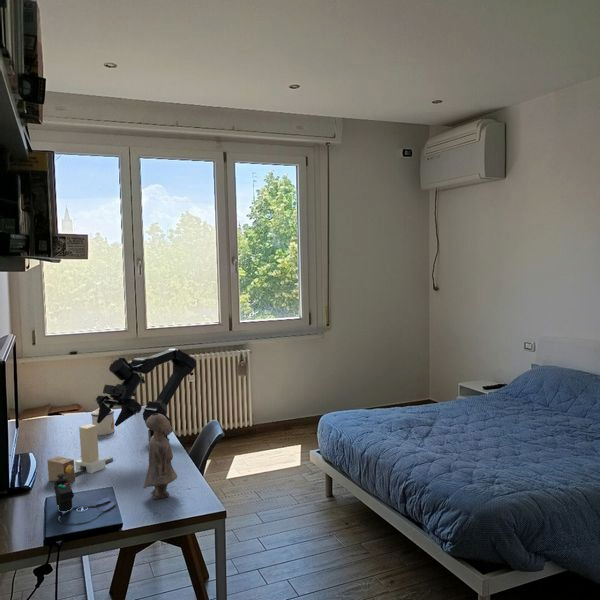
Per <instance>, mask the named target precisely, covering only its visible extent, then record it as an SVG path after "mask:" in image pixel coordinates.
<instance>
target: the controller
mask: <svg viewBox="0 0 600 600" xmlns="http://www.w3.org/2000/svg"><path fill="white" fill-rule="evenodd" d="M64 476H65V474H58V475H57V477H59V479H58V480H56V481H54V482H52V483H53V488H54V492H55V501H56V506H57V505H59V510H60V511H67V510H70V509H71V508H73V499H74V497H75V494H74V492H73V489H72V487H71V482H69V480H68V479H65V478H63V477H64ZM70 511H71V510H70Z"/></svg>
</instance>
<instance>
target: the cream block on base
mask: <svg viewBox="0 0 600 600" xmlns="http://www.w3.org/2000/svg"><path fill="white" fill-rule="evenodd" d="M78 428H79V429H78V430H79V431H78V432H79V441H80V442H79V443H80V459H78V460H74V466H75V470H77V469H80V468H82V467H85V466H86V470H87V472H86V473H88V474H94V473H96V472H98V471H101V470H103V469H106V464H105V458H103V457H102V458H101V457H100V455H99V445H98V443H99V441H98V439H99V438H98V435H97V425H92V423H91V424H90V423H89V424H88V423H87V424H85V425H82V426H79V427H78Z"/></svg>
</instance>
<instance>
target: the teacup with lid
mask: <svg viewBox="0 0 600 600" xmlns="http://www.w3.org/2000/svg"><path fill="white" fill-rule="evenodd" d="M111 410H112V411H111V412H110V413H109V414H108V415H107V416H106V417H105V418H104V419H103V420H102V421H101V422H100V423H97V419H98V414H99V407H98V408H97V409H95V410H93V411H92V412H91V422H92V423H91V425H97V436H99V435H100V436H108V435H111V434H112V433H114V432H115V418H114V417H115V416H114V413H115V411H114V409H113V408H111ZM107 434H108V435H107Z"/></svg>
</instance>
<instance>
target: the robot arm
mask: <svg viewBox="0 0 600 600" xmlns="http://www.w3.org/2000/svg"><path fill="white" fill-rule="evenodd" d="M168 362H171V363H172V364H173V366H172V370H173V371H172V373H171V376H170V377H169V378H168V380H167V382H166V384H164V387H163V388H162V389H161V392H160V393H159V394H158V396H157V398H156V399H155V400H153V401H151V400H149V401H147V404H146V406H145V407H144V408H143V413H142V418H143V421H144V423H145V424H146V421H147V419H148V418H149V417H150V416H151V415H153V414H157V413H159V414H162V415H164V416H165V417H166V418H167V419H168V421H169V422H170V423H171V418H170V417H168V416H167V414H168V405H169V403H170V402H171V400H172V398H173V397H174V395H175V393H176V391H177V390H178V388H179V386H180V385H181V383H182V381H183V380H184V379H185V377H187V376H188V375H190V374H191V373H193V371H194V370H195V368H196V366H197V363H196V359H195V358H194V357H193V356H191V355H190V354H187V353H185V352H183V350H181V349H180V348H176V347H175V348H174V347H173V348H172V347H171V348H168V349H167V350H163V351H162V352H158V353H156V354H153V355H151V356H144V357H143V356H141V357H136V358H133V359H131V361H130V362H128V361H127V359H126V358H125V357H121V356H120V357H118V359H115V360H114V362H112V363H111V364H110V365H109V368H108V370H109V372H110V373H111V374H112V375H114V376H115V377H116V378H117V380H119V381H122V382H121V383H120V384H119V383H117V384H115V385H111V384H104V387H103V391H102V394H99V395H97V397H96V398H95V400H94V401H95V402H96V403H97V405H98V408H99V414H98V419H97V423H100V422H101V421H102V420H103V419H104V418H105V417H106V416H107V415H108V414H109V413H110V412H111V411H112V410H111V409H113V408H114V407H115V406H116V407H121V410H120V412H119V415H118V417H117V419H116V420H115V421H114V427H118V426H119V425H121V424H122V423H124V422H126V421H127V420H128V419H129V418H131V417H133V416H135V415H137V414H140V413H141V411H142V407H143V406H142V404H140V403H139V401H137V400H136V399H135V398H132V397H136V394H137V393H136V391H137V389H138V387H139V385H140V384H143V385H144V384H146V380H145V377H144V375H147V374H149V373H151V372H152V371H154V370H155V367H158V366H160V365H162V364H166V363H168ZM139 374H142V375H143V376H141V375H139ZM106 394H107V395H106ZM108 395H109V396H108ZM147 433H148V434H147V436H148V438H147V439H148V441H149V442H150V439H151V437H152V436H153V435H154V431H153V430H151V429H149V428H148V431H147ZM168 436H169V435H165V436H164V437H165V438H166V439H167V440H168V441H170V438H168Z"/></svg>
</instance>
